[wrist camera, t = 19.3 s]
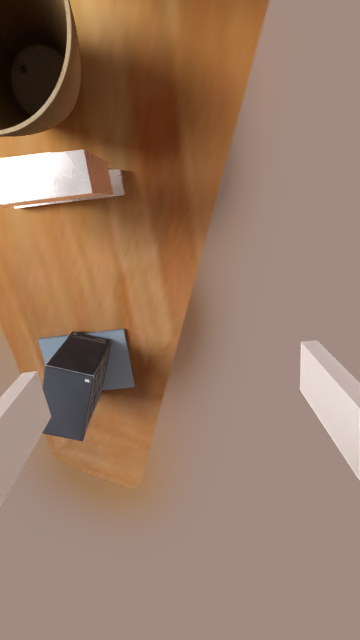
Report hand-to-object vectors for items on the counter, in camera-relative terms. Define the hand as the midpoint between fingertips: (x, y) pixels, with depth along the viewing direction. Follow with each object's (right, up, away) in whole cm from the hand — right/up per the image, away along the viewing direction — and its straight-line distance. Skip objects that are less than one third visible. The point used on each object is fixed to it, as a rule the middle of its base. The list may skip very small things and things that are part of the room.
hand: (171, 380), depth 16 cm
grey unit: (-14, +20, +25) cm, 35 cm away
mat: (-14, -4, +34) cm, 37 cm away
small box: (-14, -4, +34) cm, 37 cm away
